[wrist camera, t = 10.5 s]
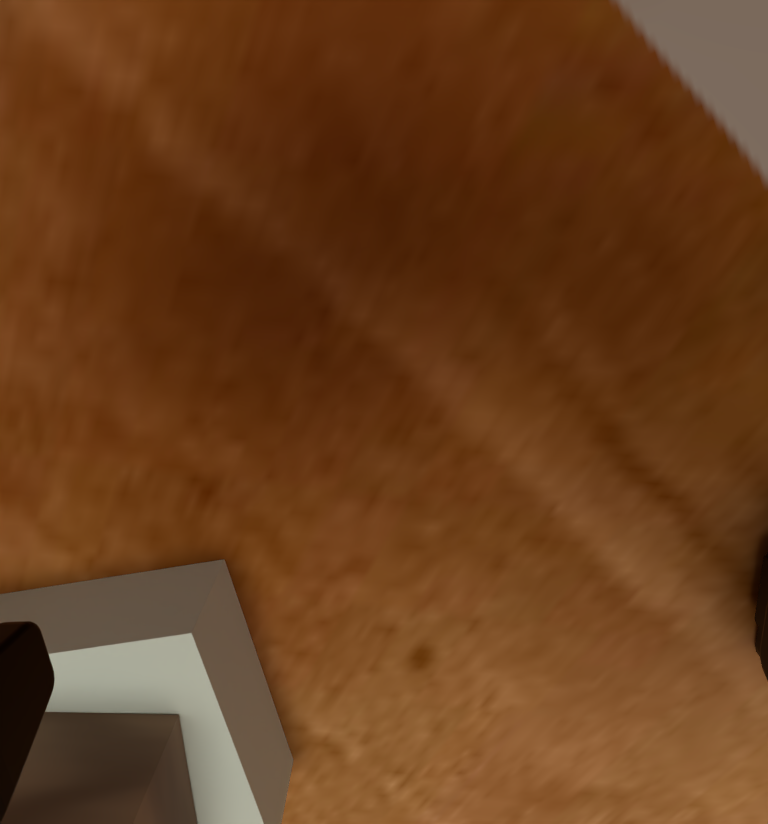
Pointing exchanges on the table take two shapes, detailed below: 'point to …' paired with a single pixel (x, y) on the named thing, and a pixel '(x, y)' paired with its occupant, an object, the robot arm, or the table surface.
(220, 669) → the base block
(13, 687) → the robot arm
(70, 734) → the walnut cube
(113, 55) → the table surface
